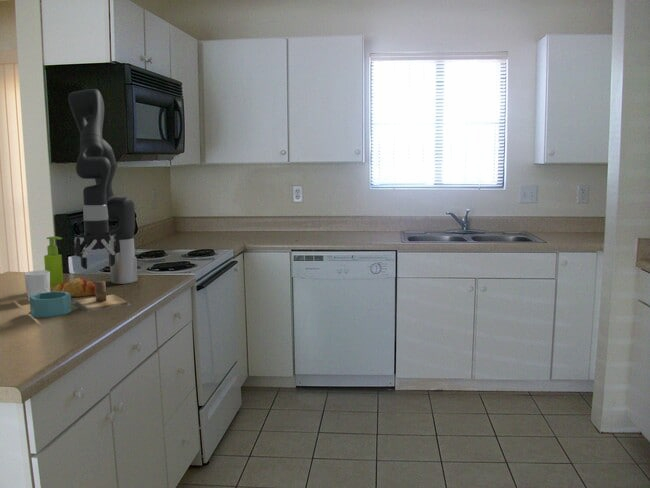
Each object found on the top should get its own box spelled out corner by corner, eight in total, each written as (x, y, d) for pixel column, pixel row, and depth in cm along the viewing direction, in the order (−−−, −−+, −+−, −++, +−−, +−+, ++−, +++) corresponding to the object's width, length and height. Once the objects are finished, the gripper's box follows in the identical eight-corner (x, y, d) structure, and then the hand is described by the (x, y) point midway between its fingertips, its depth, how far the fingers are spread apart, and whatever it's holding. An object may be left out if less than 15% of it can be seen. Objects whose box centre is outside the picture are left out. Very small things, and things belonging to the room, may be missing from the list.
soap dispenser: (59, 292, 222) (56, 238, 219) (43, 291, 223) (39, 237, 220) (69, 289, 227) (66, 236, 224) (53, 288, 229) (49, 235, 226)
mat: (116, 297, 214) (116, 296, 214) (131, 306, 203) (131, 304, 203) (71, 304, 205) (71, 302, 205) (85, 314, 194) (85, 312, 193)
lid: (114, 297, 213) (113, 276, 212) (127, 304, 203) (126, 282, 202) (75, 302, 205) (74, 281, 204) (87, 311, 195) (86, 288, 194)
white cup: (31, 298, 213) (29, 270, 212) (55, 298, 214) (53, 270, 212) (22, 304, 205) (20, 275, 204) (46, 303, 206) (44, 274, 204)
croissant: (44, 307, 215) (38, 290, 210) (53, 288, 223) (47, 271, 219) (105, 305, 216) (100, 288, 212) (111, 286, 224) (107, 270, 220)
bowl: (64, 307, 201) (63, 289, 200) (74, 314, 192) (73, 296, 192) (28, 313, 194) (27, 294, 193) (37, 320, 186) (35, 301, 185)
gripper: (113, 216, 207) (116, 263, 209) (70, 218, 198) (72, 267, 200) (121, 218, 201) (123, 266, 203) (76, 220, 192) (79, 271, 195)
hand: (98, 267), depth 202 cm, fingers open, 8 cm apart
